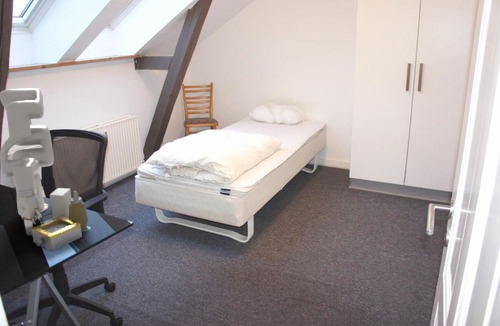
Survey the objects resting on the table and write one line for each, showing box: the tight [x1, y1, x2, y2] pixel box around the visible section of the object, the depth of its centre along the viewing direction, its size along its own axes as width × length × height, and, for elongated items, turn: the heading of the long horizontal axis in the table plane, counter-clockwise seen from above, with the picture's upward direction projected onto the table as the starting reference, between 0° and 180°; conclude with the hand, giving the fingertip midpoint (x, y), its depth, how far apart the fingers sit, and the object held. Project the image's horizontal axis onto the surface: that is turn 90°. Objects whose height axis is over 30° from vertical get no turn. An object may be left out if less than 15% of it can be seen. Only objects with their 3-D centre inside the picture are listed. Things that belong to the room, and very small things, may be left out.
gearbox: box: [32, 216, 83, 251], centre depth 169 cm, size 13×16×6 cm
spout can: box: [24, 215, 45, 236], centre depth 176 cm, size 6×8×8 cm
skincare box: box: [49, 187, 72, 220], centre depth 184 cm, size 8×7×16 cm
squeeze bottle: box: [69, 190, 89, 231], centre depth 178 cm, size 8×8×18 cm
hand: (32, 228), depth 175 cm, fingers open, 7 cm apart
